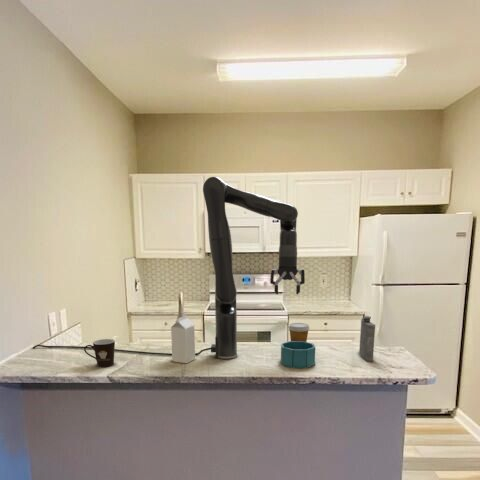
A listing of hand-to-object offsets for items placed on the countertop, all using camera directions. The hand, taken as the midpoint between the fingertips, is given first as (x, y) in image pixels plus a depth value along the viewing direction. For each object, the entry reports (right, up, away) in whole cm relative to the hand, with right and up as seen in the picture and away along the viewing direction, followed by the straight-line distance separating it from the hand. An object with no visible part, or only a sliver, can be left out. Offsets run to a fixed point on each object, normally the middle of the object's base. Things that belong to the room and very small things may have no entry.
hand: (287, 294), depth 171 cm
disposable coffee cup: (+7, -25, +18) cm, 32 cm away
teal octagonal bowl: (+4, -29, -1) cm, 29 cm away
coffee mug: (-77, -30, -2) cm, 83 cm away
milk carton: (-44, -28, +3) cm, 52 cm away
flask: (+35, -27, +7) cm, 45 cm away
